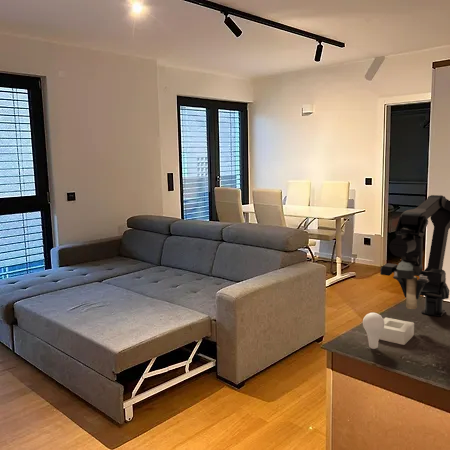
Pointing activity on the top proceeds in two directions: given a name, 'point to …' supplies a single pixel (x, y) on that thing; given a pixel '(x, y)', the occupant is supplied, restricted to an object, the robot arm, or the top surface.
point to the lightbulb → (373, 328)
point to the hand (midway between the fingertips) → (411, 298)
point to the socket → (397, 331)
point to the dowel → (411, 293)
